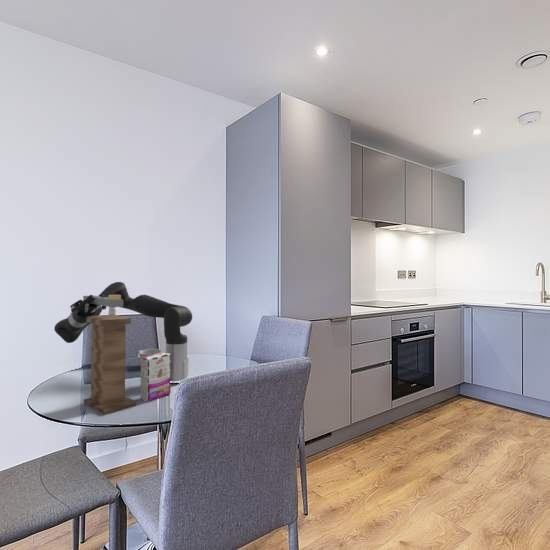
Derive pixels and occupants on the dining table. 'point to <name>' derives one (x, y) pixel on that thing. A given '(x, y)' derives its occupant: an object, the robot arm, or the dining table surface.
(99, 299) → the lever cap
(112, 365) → the stand
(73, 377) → the dining table surface
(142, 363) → the candy bar box
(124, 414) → the dining table surface
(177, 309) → the robot arm
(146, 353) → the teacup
